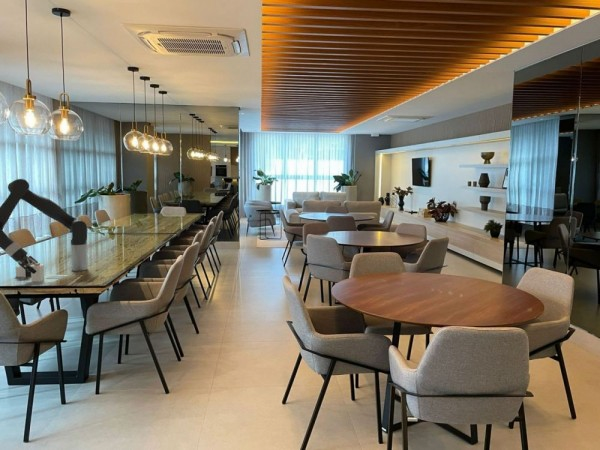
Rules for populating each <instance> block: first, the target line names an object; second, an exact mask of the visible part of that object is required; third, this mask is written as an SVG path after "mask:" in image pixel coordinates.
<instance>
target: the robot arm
mask: <svg viewBox="0 0 600 450" xmlns="http://www.w3.org/2000/svg"><path fill="white" fill-rule="evenodd" d="M7 190H8V192H9V194H8V196H7V197H6V199H5V201H4V202H3V203H2V204H1V205H0V249H2V250H3V251H4V252H5V254H7V255H8V256H9V257H10V258H11V259H12V260H13V261H15V262H16V263H17V264H18V266H22V267H23V268H24V269H25V270H26V269H27V270H29V271H30V272H32V273H33V274H34V273H36V270H35V269H34V268H32V267H31V265H34V264H35V263H39V261H38V260H36V259H35V258H34V257H33V256H32V255H28V251H26V250H25V249H24V248H23V247H22V246H20V245H19V244H18V243H16V242H15V241H14V240H12V238H10V237H9V236H8V235H7V233H6V232H4V230H3V229H4V227H5V225H6V224H7V222H8V220H9V219H10V218H11V215H12V214H13V212H14V210H15V208H16V207H17V205H18V204H19V202H20V200H22V201H23V202H26V203H28V204H29V205H31V207H33V208H35V209H37V210H38V211H39V212H41V213H42V214H44V215H45V216H47V217H49V218H50V219H52V220H54V221H56V222H58V223H60V224H62V225H63V226H64V227H65V228H66V229H68V230H69V231H70V232H71V240H70V253H71V255H70V256H71V271H74V272H75V271H76V272H77V271H78V272H80V271H86V270H88V255H87V254H88V253H87V252H88V251H87V240H88V226H87V224H86V221H83V220H81V219H78V218H75V217H74V216H72V215H70V214H68V213H67V212H66V211H65V210H64V209H63V208H62V207H61V206H60V205H58V204H57V203H56V202H54V201H52V200H51V199H50V198H48V197H45V196H42V195H40V194H37V193H35V192H33V191H31V190H30V184H29V182H28V181H27V180H26V179H23V178H17V179H14V180H13V181H10V182H9V184H8V185H7Z"/></svg>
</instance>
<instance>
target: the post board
mask: <svg viewBox="0 0 600 450" xmlns="http://www.w3.org/2000/svg"><path fill="white" fill-rule="evenodd" d="M68 276H69V274H45V273H44V280H42V281H31V279H30V280H28V281H26V283H54V282H57V281H59V280H60V279H63V278H65V277H68Z"/></svg>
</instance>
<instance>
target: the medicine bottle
mask: <svg viewBox="0 0 600 450" xmlns="http://www.w3.org/2000/svg"><path fill="white" fill-rule="evenodd" d="M31 266H32V265H31ZM15 277H17V278H28V277H31V272H30V271H29V270H27V269H26V270H25V269H24V268H23V267H22V266H20V265H18V266H16V267H15Z"/></svg>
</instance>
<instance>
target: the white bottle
mask: <svg viewBox="0 0 600 450" xmlns="http://www.w3.org/2000/svg"><path fill="white" fill-rule="evenodd" d="M31 267H32V268H34V269H35V270H36V273H34V274H33V273H32V272H31V276H30V277H31V278H30V280H31V281H42V280H44V275H45V264H43V263H42V264H41V263H40V262H38V263H35V264H34V265H32V266H31Z"/></svg>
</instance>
